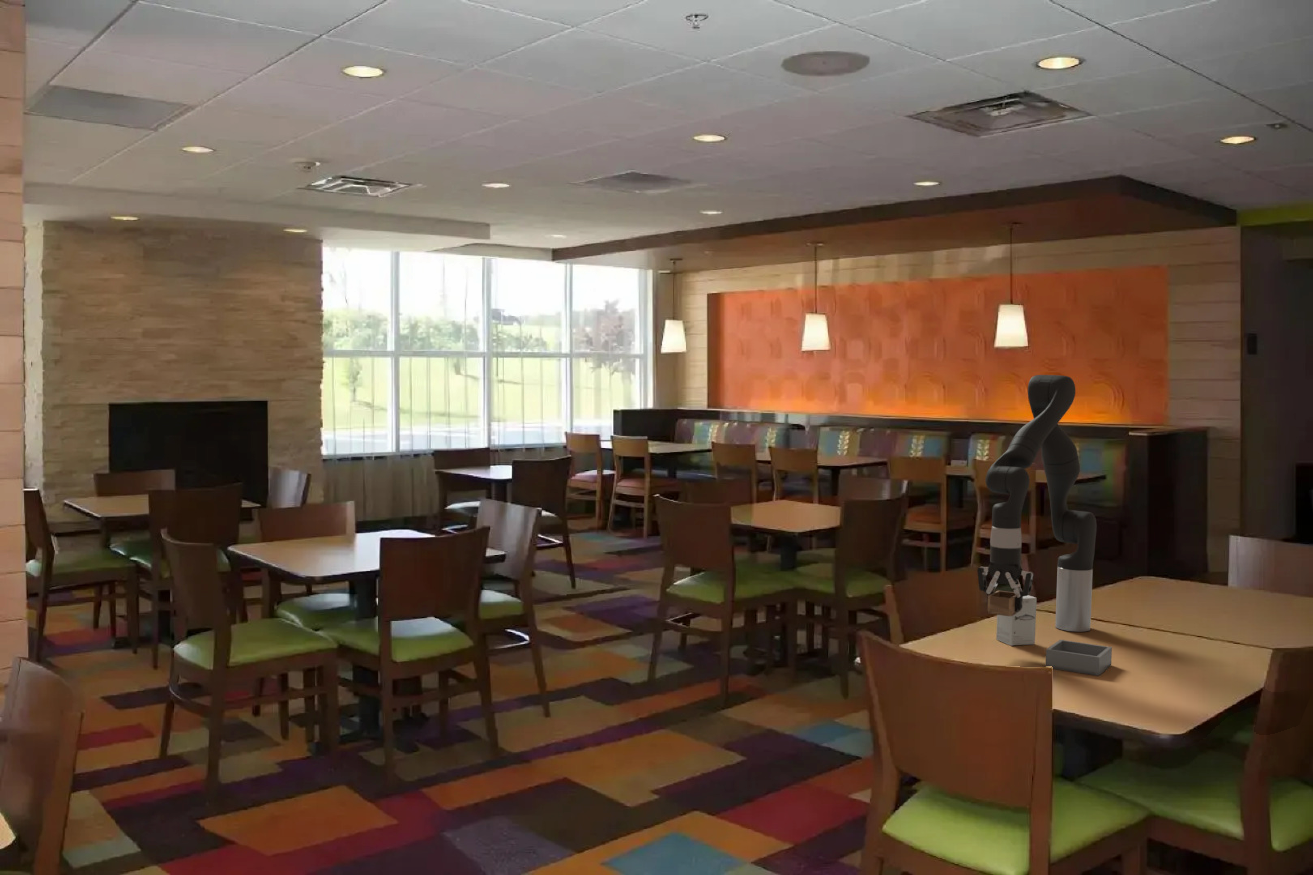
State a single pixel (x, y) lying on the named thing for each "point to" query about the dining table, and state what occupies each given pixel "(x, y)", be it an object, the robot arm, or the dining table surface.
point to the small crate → (1002, 603)
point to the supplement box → (1018, 624)
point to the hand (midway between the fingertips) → (1004, 609)
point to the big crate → (1079, 657)
